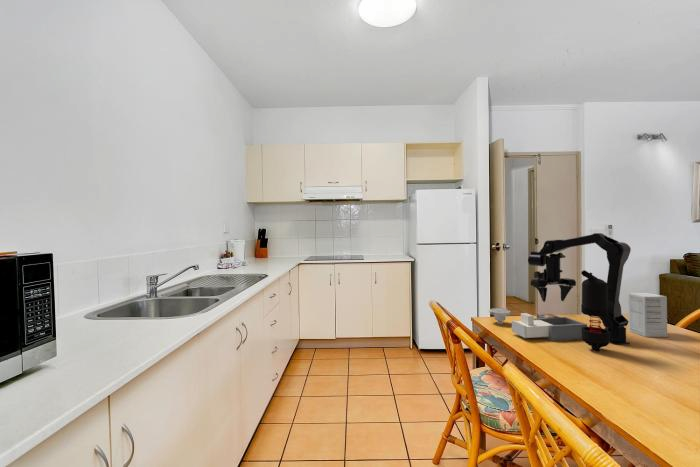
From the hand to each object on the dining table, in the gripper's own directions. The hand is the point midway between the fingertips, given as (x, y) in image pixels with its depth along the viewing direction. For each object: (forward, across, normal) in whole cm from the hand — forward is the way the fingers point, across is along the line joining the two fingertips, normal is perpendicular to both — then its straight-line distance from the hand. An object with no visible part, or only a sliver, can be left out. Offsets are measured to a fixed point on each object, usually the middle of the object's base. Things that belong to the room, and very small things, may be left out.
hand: (553, 301), depth 159 cm
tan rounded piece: (+10, +4, +3) cm, 11 cm away
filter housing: (+12, +6, +8) cm, 16 cm away
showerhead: (+12, +20, -10) cm, 25 cm away
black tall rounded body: (+12, +4, +29) cm, 32 cm away
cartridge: (+11, +18, +11) cm, 24 cm away
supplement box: (+12, -32, +15) cm, 37 cm away
